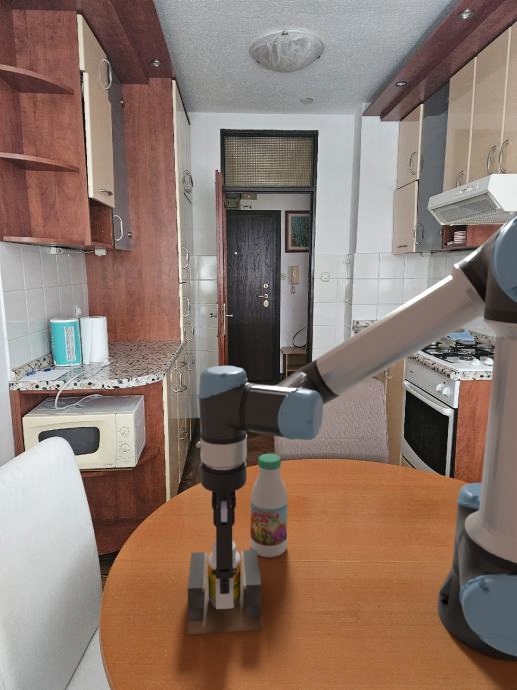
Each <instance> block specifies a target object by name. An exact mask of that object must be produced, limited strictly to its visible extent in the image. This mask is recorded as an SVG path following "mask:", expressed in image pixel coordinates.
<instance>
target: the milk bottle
mask: <svg viewBox="0 0 517 690" xmlns="http://www.w3.org/2000/svg"><path fill="white" fill-rule="evenodd" d="M257 464H258V466H257V467H258V469H259V470H258V475H257V478H256V480H255V482H254V484H253V486H252V490H251V494H250V495H251V496H250V530H249V531H250V535H249V536H250V549H251V550H257V556H260V557H264V558H274V557H275V558H276V557H278V556H281V555H283V554H284V552H285V551H286V550H287V547H288V519H289V518H288V516H289V515H288V510H289V509H288V508H289V506H288V505H289V503H288V501H289V500H288V492H287V488H286V485H285V483H284V481H283V478H282V476H281V472H280V470H281V468H282V466H281V465H282V459H281V456H280V455H278V454H276V453H264V454H261V455H260V456H258V461H257Z"/></svg>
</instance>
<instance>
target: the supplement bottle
mask: <svg viewBox="0 0 517 690" xmlns="http://www.w3.org/2000/svg"><path fill="white" fill-rule="evenodd" d="M232 549H233V571H234V575H233V605H234V606H235V605H236V604H237V603H238V602H239V600H240V595H241V574H242V572H241V571H242V560H241V553H239V551H237V545H236V543H235V541H234V540H232ZM211 570H216V541H215V542H214V543H213V544H212V551H211V552H210V554H209V555H208V556H207V573H208V575H207V576H208V587H209V601H210V603H211V604H212V605H213V606H214V607H216V576H215V575H212V573H211ZM228 609H229V608H228Z"/></svg>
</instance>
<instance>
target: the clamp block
mask: <svg viewBox="0 0 517 690" xmlns="http://www.w3.org/2000/svg"><path fill="white" fill-rule="evenodd" d="M258 556H259V555H257V550H252V549H244V550H241V551H240V559H241V571H242V572H241V595H240V600H239V602H238V603H237V604H236V605H235V606H234V608H229V609H216V607H214V606H213V605H212V604H211V603H210V601H209V587H208V575H207V573H208V552H205V551H203V552H202V551H200V552H191V553H190V563H189V565H190V566H189V573H188V574H189V575H188V583H187V609H188V611H187V612H188V613H187V615H188V616H187V625H186V626H187V627H186V634H187V635H198V634H199V635H200V634H201V635H202V634H203V635H204V634H215V633H216V634H218V633H230V632H231V633H233V632H245V631H246V632H247V631H249V632H250V631H262V630H263V618H262V581H261V573H260V567H259V558H258Z"/></svg>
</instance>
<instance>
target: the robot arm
mask: <svg viewBox="0 0 517 690" xmlns="http://www.w3.org/2000/svg"><path fill="white" fill-rule="evenodd" d="M480 317H483V321H484V322H485V324H486V325H487V326H488V327H489V328H490V329H491V330H492V331H493V332H494V334H495V341H494V342H495V343H494V353H493V363H492V364H493V365H492V374H491V385H490V392H489V393H490V395H489V406H488V413H487V414H488V415H487V423H486V435H485V446H484V457H483V467H482V476H481V482H472V483H468V484H464V485H463V486H462V487H460V490H459V493H458V499H456V504H457V508H456V509H457V511H456V523H455V531H454V532H455V535H454V545H453V553H452V554H453V555H452V556H453V557H452V567H451V568H450V570H449V571H448V574H447V576H446V577H445V579H444V581H443V583H442V585H441V587H440V588H439V592H438V598H437V612H438V616H439V618H440V620H441V622H442V624H443V625H444V626H445V627H446V629H447V630H448V631H449V632H450V633H451V634H452V635H453V636H454V638H456V639H457V640H459V641H460V642H461V643H462V644H464V645H466V646H468V647H469V648H471V649H472V650H475V651H477V652H478V653H481V654H482V655H485V656H489V657H491V658H495V659H499V660H504V661H505V660H506V661H507V660H508V661H517V213H515V214H513V216H511V217H509V218H508V219H507V221H506V222H505V223H504V224H503V225H502V226H500V227H499V228H498V229H497V230H496V231H494V233H492V235H491V236H490V237H489V238H488V239H487V240H485V242H483V243H482V244H481V245H480V246H478V248H476V249H475V250H474V251H473V252H471V253H470V254H468V255H467V256H465V257H464V258H463V259H461V260H460V261H458V262H456V263H455V264H453V267H452V270H451V273H450V274H449V275H448V276H447V277H445V278H443V279H441V280H440V281H439V282H436V284H434V285H432V286H431V287H429V288H427V289H426V290H424V291H423V292H421V293H420V294H418V295H416V296H414V297H413V298H411V299H410V300H409V301H408V300H407V301H406V302H405V303H403V304H402V305H400V306H399V307H397V308H395V309H394V310H392V311H390V312H389V313H387V314H385V315H384V316H383V317H381V318H379V319H378V320H376V321H375V322H373V323H371V324H369V325H368V326H366V327H365V328H364V329H362V330H360V331H358V332H357V333H355V334H354V335H352V336H351V337H349V338H347V339H346V340H345V341H343V342H341V343H339V344H338V345H336V346H335V347H333V348H332V349H329V350H328V351H327V352H325V353H323V354H322V355H320V356H319V357H317V358H316V359H314V360H313V361H311V362H309V363H308V364H305V365H304V366H302V367H300V368H298V369H296V370H295V371H293V372H292V374H290V375H289V376H288V377H286V378H284V379H283V380H281V382H279V383H278V384H276V385H272V384H259V383H253V382H248V377H247V372H246V371H245V369H244V368H242V367H237V366H234V365H217V366H210V367H208V368H205V369H204V370H203V371H202V372H201V373H200V375H199V389H198V391H199V392H198V395H197V397H198V398H197V399H198V402H199V423H200V424H199V425H200V429H199V431H200V432H199V434H200V435H199V437H200V441H197V442H196V448H198V449H200V461H201V462H200V484H201V485H202V487H203V488H204V489H205V490H207V491H209V492H211V508H212V511H213V512H212V514H213V517H212V518H213V521H212V523H213V526H214V527H215V530H216V531H215V539H216V540H215V542H216V570H211V573H212V575H215V576H216V609H228V608H234V605H233V575H234V571H233V549H232V541H233V526H234V525H235V521H236V515H235V514H236V512H235V509H236V507H237V498H236V497H237V496H236V491H238V490H240V489H242V488H243V487H244V486H245V485H246V482H247V461H246V460H247V457H248V454H247V453H248V452H247V451H248V449H247V448H248V447H247V446H248V444H247V442H248V441H247V439H248V435H247V433H255V434H256V433H257V434H261V435H266V436H267V435H269V436H273V437H280V438H285V439H287V440H293V441H294V440H301V441H302V440H303V441H310V440H314V439H315V438H316V437H317V436H318V435H319V433H320V429H321V426H322V422H323V415H324V405H327V404H329V402H332V401H333V400H335V399H337V398H338V397H340V396H341V395H342V394H345V393H346V392H349V391H350V390H352V389H354V388H355V387H357V386H359V385H361V384H362V383H364V382H366V381H368V380H369V379H371V378H373V377H375V376H377V375H378V374H381V373H382V372H384V371H386V370H388V369H390V368H391V367H392V366H394V365H397V364H398V363H399V362H401V361H403V360H405V359H407V358H408V357H411V356H412V355H414V354H416V353H418V352H419V351H421V350H423V349H425V348H426V347H428V346H430V345H432V344H434V343H435V342H437V341H439V340H441V339H442V338H444V337H447V336H448V335H450V334H451V333H453V332H455V331H456V330H458V329H461V328H462V327H463V326H466V325H468V324H470V323H471V322H473V321H475V320H477V319H478V318H480Z"/></svg>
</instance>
